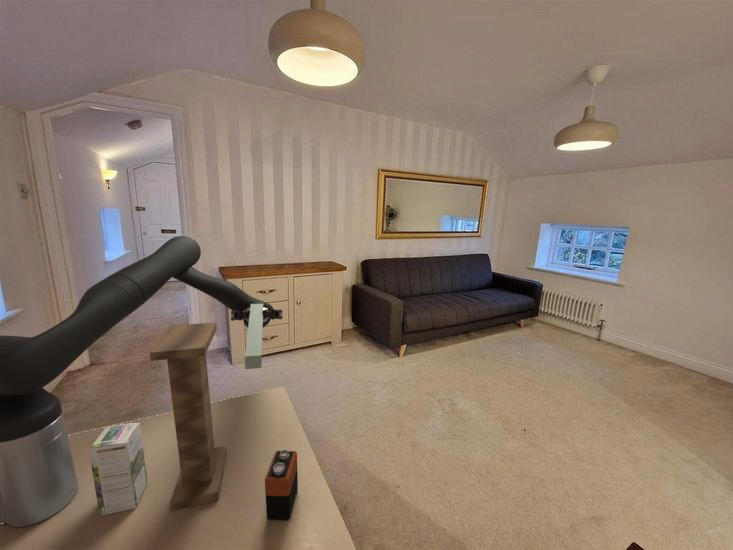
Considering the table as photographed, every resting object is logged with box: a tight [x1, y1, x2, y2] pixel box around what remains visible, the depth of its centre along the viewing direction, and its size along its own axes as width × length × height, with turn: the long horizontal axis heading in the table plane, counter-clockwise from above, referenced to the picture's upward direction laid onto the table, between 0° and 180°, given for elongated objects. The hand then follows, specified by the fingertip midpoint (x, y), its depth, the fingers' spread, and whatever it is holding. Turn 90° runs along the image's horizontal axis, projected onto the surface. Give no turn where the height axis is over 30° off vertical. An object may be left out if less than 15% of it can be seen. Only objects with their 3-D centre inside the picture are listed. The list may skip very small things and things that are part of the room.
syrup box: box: [88, 422, 148, 517], centre depth 56 cm, size 6×6×14 cm
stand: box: [149, 322, 228, 512], centre depth 59 cm, size 8×12×32 cm, turn 17°
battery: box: [264, 449, 299, 521], centre depth 57 cm, size 4×7×10 cm, turn 179°
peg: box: [244, 304, 264, 370], centre depth 68 cm, size 3×22×3 cm, turn 18°
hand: (256, 314), depth 73 cm, fingers closed on peg, 3 cm apart
